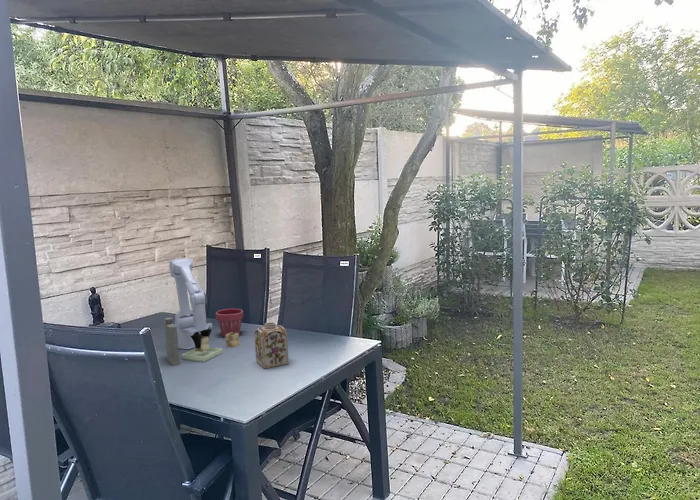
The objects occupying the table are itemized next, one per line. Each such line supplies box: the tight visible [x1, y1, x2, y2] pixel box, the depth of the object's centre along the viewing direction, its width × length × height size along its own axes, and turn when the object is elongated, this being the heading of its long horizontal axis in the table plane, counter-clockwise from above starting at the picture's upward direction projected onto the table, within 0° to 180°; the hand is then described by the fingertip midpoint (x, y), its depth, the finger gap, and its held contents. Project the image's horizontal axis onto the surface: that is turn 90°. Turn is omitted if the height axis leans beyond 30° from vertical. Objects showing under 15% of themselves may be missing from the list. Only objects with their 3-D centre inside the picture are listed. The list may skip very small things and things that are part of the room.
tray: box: [181, 346, 224, 363], centre depth 242 cm, size 13×13×2 cm
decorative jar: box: [253, 322, 289, 369], centre depth 228 cm, size 12×12×18 cm
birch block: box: [194, 336, 210, 352], centre depth 241 cm, size 4×4×6 cm
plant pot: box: [215, 308, 244, 338], centre depth 276 cm, size 14×14×13 cm
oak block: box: [225, 332, 240, 348], centre depth 257 cm, size 4×4×6 cm
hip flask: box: [163, 317, 180, 366], centre depth 237 cm, size 16×4×20 cm, turn 29°
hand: (201, 346), depth 242 cm, fingers closed on birch block, 4 cm apart
